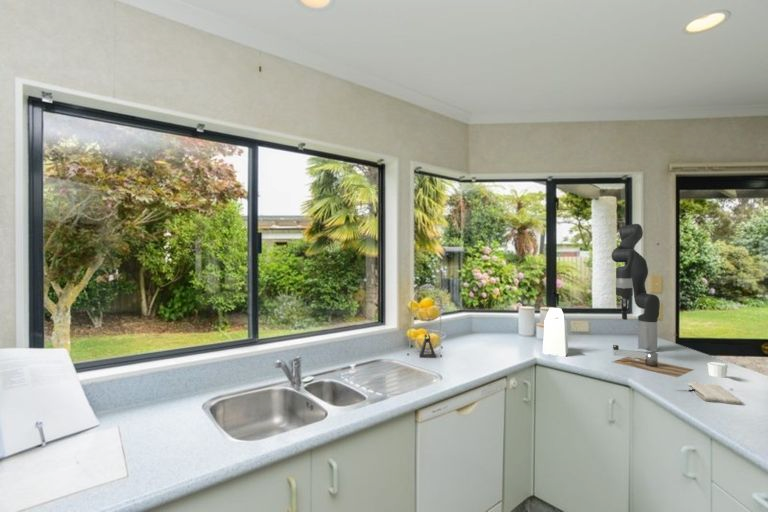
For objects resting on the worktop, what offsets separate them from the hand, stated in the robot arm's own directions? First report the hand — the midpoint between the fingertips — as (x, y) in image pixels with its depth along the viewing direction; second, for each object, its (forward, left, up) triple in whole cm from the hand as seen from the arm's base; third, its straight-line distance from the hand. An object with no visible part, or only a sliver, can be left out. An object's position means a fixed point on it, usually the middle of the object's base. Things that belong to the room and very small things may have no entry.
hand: (624, 319), depth 195 cm
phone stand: (+81, -65, -23) cm, 106 cm away
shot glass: (-6, +36, -23) cm, 43 cm away
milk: (+15, -30, -23) cm, 40 cm away
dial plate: (+2, +13, -22) cm, 26 cm away
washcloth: (+21, +42, -23) cm, 52 cm away
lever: (+6, +7, -21) cm, 23 cm away
